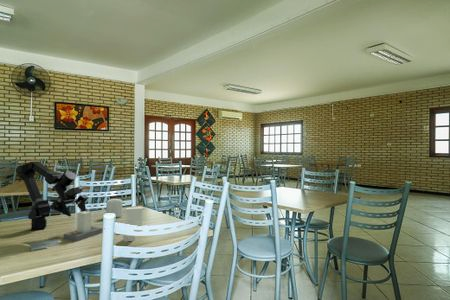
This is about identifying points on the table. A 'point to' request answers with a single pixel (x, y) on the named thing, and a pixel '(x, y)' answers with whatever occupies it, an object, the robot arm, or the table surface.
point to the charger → (83, 222)
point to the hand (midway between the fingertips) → (78, 214)
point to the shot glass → (128, 238)
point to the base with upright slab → (134, 216)
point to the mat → (43, 244)
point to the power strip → (82, 234)
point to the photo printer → (114, 207)
